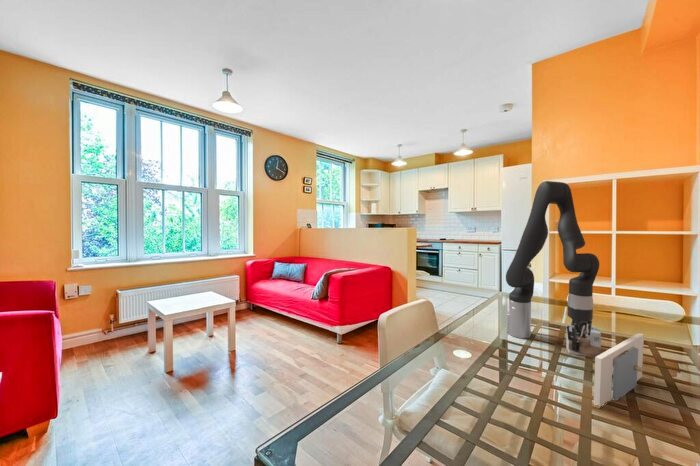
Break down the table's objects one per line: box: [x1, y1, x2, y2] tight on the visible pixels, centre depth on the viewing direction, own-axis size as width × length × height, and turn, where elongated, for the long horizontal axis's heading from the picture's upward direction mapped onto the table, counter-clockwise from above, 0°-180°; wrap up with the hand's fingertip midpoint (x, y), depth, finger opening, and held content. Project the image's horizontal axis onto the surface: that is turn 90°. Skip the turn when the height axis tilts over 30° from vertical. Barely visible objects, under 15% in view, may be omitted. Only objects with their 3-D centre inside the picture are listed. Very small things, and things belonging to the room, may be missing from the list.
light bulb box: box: [565, 323, 602, 357], centre depth 122 cm, size 11×7×11 cm, turn 65°
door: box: [611, 348, 643, 401], centre depth 95 cm, size 3×15×13 cm, turn 118°
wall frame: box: [593, 332, 645, 406], centre depth 97 cm, size 2×32×16 cm, turn 118°
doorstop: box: [569, 337, 622, 366], centre depth 107 cm, size 14×5×4 cm, turn 28°
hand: (579, 348), depth 111 cm, fingers closed on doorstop, 5 cm apart
